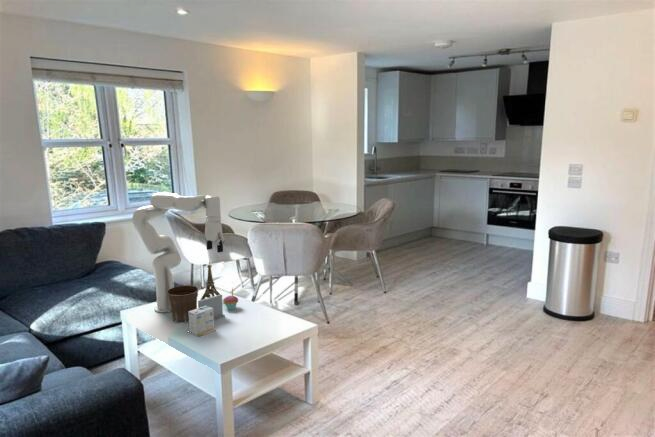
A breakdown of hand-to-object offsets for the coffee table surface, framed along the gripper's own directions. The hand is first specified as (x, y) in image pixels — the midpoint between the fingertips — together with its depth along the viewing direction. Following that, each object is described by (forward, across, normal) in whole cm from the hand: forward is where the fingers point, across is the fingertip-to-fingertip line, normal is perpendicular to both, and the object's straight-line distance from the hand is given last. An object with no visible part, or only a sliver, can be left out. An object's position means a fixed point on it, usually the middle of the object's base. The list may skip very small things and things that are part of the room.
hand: (214, 250), depth 244 cm
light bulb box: (+36, +12, -18) cm, 42 cm away
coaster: (+36, +12, -18) cm, 42 cm away
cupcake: (+36, -3, +11) cm, 38 cm away
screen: (+36, +2, -6) cm, 37 cm away
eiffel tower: (+37, -26, +13) cm, 47 cm away
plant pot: (+36, -9, -15) cm, 40 cm away
